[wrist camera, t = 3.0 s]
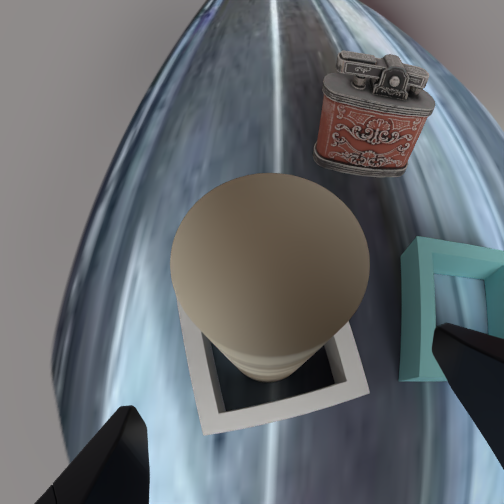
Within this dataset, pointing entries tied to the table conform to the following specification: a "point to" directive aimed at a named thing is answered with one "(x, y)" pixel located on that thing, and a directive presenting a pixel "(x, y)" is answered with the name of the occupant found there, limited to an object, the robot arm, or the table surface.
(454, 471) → the table surface
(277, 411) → the grey socket
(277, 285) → the peg
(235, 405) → the table surface
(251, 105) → the table surface
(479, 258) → the teal socket
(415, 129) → the lighter
